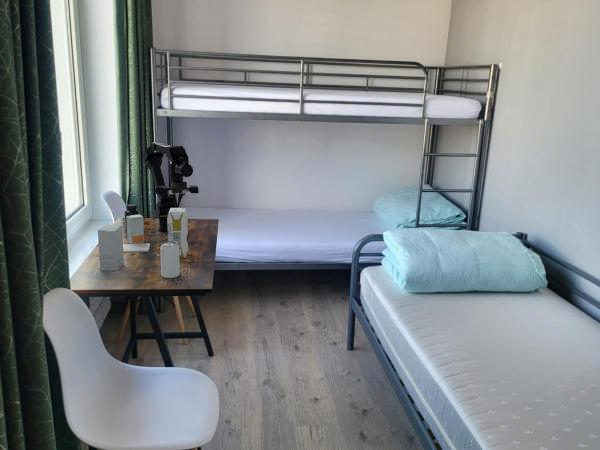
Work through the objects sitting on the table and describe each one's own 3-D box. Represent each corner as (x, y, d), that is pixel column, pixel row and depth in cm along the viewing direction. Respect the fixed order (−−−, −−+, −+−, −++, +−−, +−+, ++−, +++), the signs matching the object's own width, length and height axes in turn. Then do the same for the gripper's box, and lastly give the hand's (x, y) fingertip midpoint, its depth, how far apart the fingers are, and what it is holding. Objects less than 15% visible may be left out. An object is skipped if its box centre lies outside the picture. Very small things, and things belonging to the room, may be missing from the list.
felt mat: (120, 245, 214) (120, 244, 214) (150, 244, 217) (149, 243, 217) (118, 252, 205) (118, 251, 205) (148, 251, 208) (148, 250, 207)
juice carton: (168, 259, 199) (166, 212, 194) (170, 252, 207) (168, 207, 202) (187, 258, 200) (186, 212, 195) (189, 252, 208) (187, 207, 204)
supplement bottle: (127, 227, 242) (125, 203, 239) (141, 227, 243) (140, 203, 240) (123, 231, 236) (122, 206, 233) (138, 231, 236) (137, 206, 233)
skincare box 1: (108, 263, 192) (105, 223, 188) (125, 264, 192) (123, 224, 188) (99, 270, 184) (96, 229, 180) (117, 271, 184) (114, 230, 180)
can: (162, 279, 177) (161, 246, 174) (160, 273, 183) (158, 241, 180) (181, 277, 180) (180, 245, 177) (178, 271, 186) (177, 240, 183)
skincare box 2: (131, 245, 215) (129, 218, 212) (127, 242, 218) (125, 216, 215) (144, 242, 219) (143, 216, 216) (140, 240, 222) (139, 214, 219)
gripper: (154, 177, 214) (155, 212, 218) (198, 176, 218) (199, 211, 222) (155, 173, 225) (156, 207, 228) (197, 172, 229) (198, 206, 233)
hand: (177, 208), depth 228 cm, fingers closed
